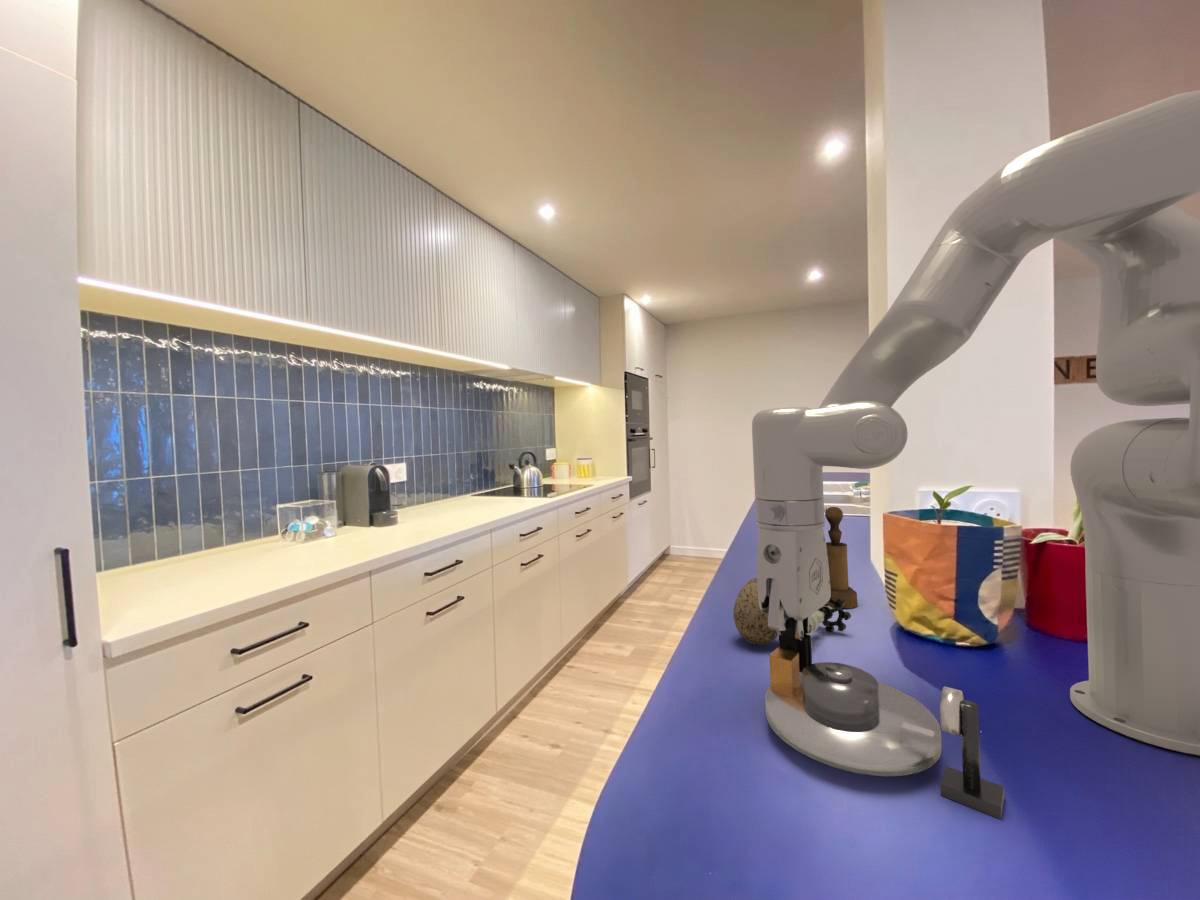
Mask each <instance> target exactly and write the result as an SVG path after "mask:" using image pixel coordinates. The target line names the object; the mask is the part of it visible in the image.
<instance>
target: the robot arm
mask: <svg viewBox="0 0 1200 900" xmlns="http://www.w3.org/2000/svg"><path fill="white" fill-rule="evenodd" d="M1198 193H1200V89H1197V90H1192V91H1189V92H1188V91H1187V92H1182V93H1177V94H1174V95H1171V96H1169V97H1165V98H1163V99H1161V100H1157V101H1154V102H1152V103H1148V104H1146V105H1143V106H1141V107H1138V108H1136V109H1133V110H1131V111H1128V112H1125V113H1123V114H1120V115H1117V116H1114V117H1112V118H1109V119H1107V120H1103V121H1101V122H1098V123H1095V124H1092V125H1090V126H1087V127H1084V128H1082V129H1079V130H1075V131H1073V132H1071V133H1068V134H1065V135H1062V136H1060V137H1058V138H1056V139H1053V140H1050V141H1048V142H1044V143H1043V144H1040V145H1038V146H1035V147H1033V148H1031V149H1029V150H1027V151H1025V152H1023V153H1022V154H1020V155H1017V156H1016V157H1014V158H1013V159H1011V160H1010V161H1008V162H1007V163H1005V164H1004V165H1003V166H1002V167H1000V168H999V170H997V171H996V172H995V173H994V174H993V175H992V176H991V177H989V178H988V179H987V180H985V182H983V183H982V184H981V185H980V186H979V187H977V188H975V190H974V191H973V192H972V193H970V194H969V195H968V196H967V197H966V198H965V199H963V201H961V203H959V205H957V207H956V208H955V209H954V210H953V211H952V213H951V214H950V215H949V216H948V218H947V219H946V221H945V222H944V224H943V225H942V227H941V228H940V230H939V232H938V233H937V235H936V236H935V237H934V239H933V241H932V242H931V244H930V245H929V247H928V249H927V250H926V251H925V253H924V255H923V256H922V258H921V260H920V261H919V262H918V264H917V266H916V267H915V268H914V271H913V272H912V274H911V275H910V276H909V278H908V280H907V282H906V283H905V284H904V286H903V288H902V289H901V290H900V292H899V294H898V295H897V297H896V298H895V300H894V302H893V303H892V304H891V306H890V307H889V309H888V310H887V311H886V313H885V314H884V315H883V317H882V318H881V319H880V321H879V322H878V323H877V324H876V326H875V327H874V328H873V330H872V331H871V332H870V334H869V336H868V337H867V339H865V341H864V342H863V344H862V345H861V347H860V348H859V349H858V351H857V352H856V353H855V355H854V356H853V357H852V358H851V359H850V361H849V362H848V363H847V365H846V366H845V368H844V369H843V371H842V372H841V373H840V375H839V376H838V377H837V378H836V381H835V382H834V383H833V385H832V387H830V389H829V391H828V392H827V394H826V395H825V397H824V398H823V400H822V402H821V403H820V405H819V407H817V408H816V407H813V408H810V407H805V406H797V407H795V406H793V407H792V406H791V407H778V408H768V409H764V410H760V411H759V412H757V413H756V414H755V415H754V416H753V417H752V420H751V436H752V455H753V457H752V458H753V481H754V482H753V483H754V484H753V485H754V499H755V500H754V501H755V502H754V504H755V525H756V526H757V527H759V528H758V538H757V552H756V553H757V555H756V557H757V558H756V578H757V590H758V602H759V607H760V609H761V611H762V612H763V613H769V614H768V628H770V629H773V630H776V632H777V634H778V648H781V649H785V650H789V651H793V652H797V653H799V672H801V673H802V671H803V669H804V668H805V667H806V666H808V665H810V664H813V656H812V655H813V654H812V651H813V649H812V650H811V640H812V635H807V634H810V633H811V631H812V614H813V613H814V612H816V611H817V610H818V609H820V608H821V607H823V606H825V604H826V603H827V602H828V601H829V600H830V597H831V588H830V576H829V565H828V555H827V547H826V542H827V541H826V536H825V530H824V528H825V527H826V523H825V522H826V521H825V499H824V478H823V477H824V476H823V467H835V468H848V469H849V468H850V469H856V470H857V469H858V470H869V469H875V468H879V467H882V466H885V465H887V464H889V463H891V462H892V461H894V460H895V459H897V458H898V457H899V455H900V454H901V453H902V451H903V450H904V448H905V447H906V443H907V441H908V434H909V433H908V427H907V423H906V422H905V420H904V418H903V416H902V415H901V414H900V413H899V412H898V411H897V410H896V409H894V408H893V407H894V405H895V403H896V402H897V401H898V400H899V399H900V397H901V396H902V395H903V394H904V393H905V391H907V390H909V389H908V388H910V387H911V386H912V385H913V384H914V383H916V382H917V381H918V380H919V379H920V378H921V377H923V376H924V375H926V374H927V373H928V372H930V371H931V370H934V368H936V367H938V366H939V365H940V364H942V363H943V362H944V361H946V360H947V359H949V358H950V357H951V356H952V355H953V354H955V353H956V352H957V351H958V350H960V348H962V346H964V345H965V344H966V343H967V342H968V340H970V338H972V336H973V334H974V333H975V331H977V328H978V326H979V325H980V323H982V321H983V319H984V318H985V316H986V314H987V313H988V311H989V310H990V308H991V307H992V305H993V304H994V302H995V301H996V299H997V298H998V296H999V295H1000V293H1001V292H1002V290H1003V288H1004V287H1005V286H1006V285H1007V283H1008V281H1009V280H1010V279H1011V277H1012V276H1013V274H1014V272H1015V271H1016V269H1017V268H1018V267H1019V265H1020V264H1021V262H1022V261H1023V259H1025V257H1026V256H1027V255H1028V254H1029V253H1030V252H1031V251H1033V250H1034V249H1036V248H1038V247H1040V246H1041V245H1043V244H1046V243H1047V242H1049V241H1051V240H1052V239H1056V240H1058V241H1059V242H1061V243H1063V244H1065V245H1067V246H1069V247H1070V248H1072V249H1073V250H1075V251H1076V252H1077V253H1079V254H1081V255H1082V256H1083V257H1084V258H1086V259H1087V260H1088V261H1089V263H1090V264H1091V265H1092V267H1093V268H1094V269H1095V271H1096V273H1097V276H1098V279H1099V284H1100V286H1099V287H1100V307H1099V321H1098V322H1099V323H1098V333H1097V334H1098V335H1097V344H1096V345H1097V347H1096V358H1095V376H1096V377H1095V378H1096V383H1097V385H1098V388H1099V390H1100V391H1101V393H1102V394H1103V395H1104V396H1105V397H1107V398H1108V399H1109V400H1112V401H1114V402H1116V403H1119V404H1123V405H1128V406H1136V407H1137V406H1139V407H1142V406H1143V407H1156V406H1172V405H1173V406H1175V405H1176V406H1177V405H1188V404H1189V417H1169V418H1166V417H1165V418H1162V417H1161V418H1147V419H1146V418H1145V419H1144V418H1143V419H1142V418H1141V419H1134V420H1133V419H1131V420H1126V421H1119V422H1115V423H1111V424H1108V425H1104V426H1102V427H1100V428H1098V429H1095V430H1093V431H1092V432H1090V433H1089V434H1087V435H1086V436H1084V438H1083V439H1081V440H1080V441H1079V442H1078V444H1077V445H1076V447H1075V448H1074V450H1073V453H1072V456H1071V459H1070V477H1071V482H1072V486H1073V489H1074V492H1075V497H1076V499H1077V503H1078V506H1079V510H1080V515H1081V521H1082V528H1083V537H1084V550H1085V551H1084V552H1085V553H1084V554H1085V558H1084V559H1085V565H1084V566H1085V569H1084V570H1085V599H1086V626H1087V659H1088V680H1083V681H1080V682H1076V683H1074V684H1073V685H1071V687H1070V689H1069V691H1070V692H1069V699H1070V700H1071V701H1070V702H1071V704H1072V705H1074V707H1075V708H1076V709H1077V710H1078V711H1080V713H1082V714H1083V715H1084V716H1086V717H1088V718H1089V719H1091V720H1092V721H1095V722H1096V723H1098V724H1100V725H1101V726H1104V727H1106V728H1108V729H1110V730H1112V731H1114V732H1117V733H1119V734H1122V735H1124V736H1126V737H1128V738H1131V739H1135V740H1137V741H1140V742H1143V743H1146V744H1150V745H1153V746H1155V747H1156V746H1157V747H1159V748H1162V749H1167V750H1171V751H1176V752H1179V753H1183V754H1187V755H1188V754H1189V755H1195V756H1199V757H1200V220H1199V219H1198V218H1196V217H1194V216H1192V215H1191V214H1188V213H1186V212H1185V211H1183V210H1181V209H1179V208H1178V207H1176V206H1174V205H1175V204H1177V203H1180V202H1181V201H1183V200H1185V199H1187V198H1190V197H1191V196H1193V195H1196V194H1198ZM806 633H807V634H806Z"/></svg>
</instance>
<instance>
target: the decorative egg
mask: <svg viewBox="0 0 1200 900" xmlns="http://www.w3.org/2000/svg"><path fill="white" fill-rule="evenodd" d="M732 613H733V622H734V624H735V628H736V630H737V632H738V633H739V635H740V636H741V637H742V638H743V639H744V641H746V642H749V643H750V644H752V645H756V646H765V645H768V644H770V643H772V642H773V641H774V640H775V639H776V638H777V637H779V635H778V634H777V632H776V630H773V629H770V628H768V614H769V613H763V612H762V611H761V609H760V607H759V602H758V590H757V577H756V578H755V577H754V578H752V579H750V580H748V581H747V582H746V583H745V584H744V586H743V587H741V589H740V591H739V592H738V594H737V596H736V598H735V601H734V605H733V612H732Z"/></svg>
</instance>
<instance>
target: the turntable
mask: <svg viewBox="0 0 1200 900" xmlns="http://www.w3.org/2000/svg"><path fill="white" fill-rule="evenodd" d="M768 658H769V677H770V680H769V681H770V684H769V686H768V687H767V688H766V691H765V695H764V696H765V697H764V700H765V701H764V703H765V715H766V716H765V717H766V719H767V720H766V721H767V722H768V724H769V726H770V727H771V729H772V730H773V732H775V734H776V736H778V737H779V738H780V739H781V740H782V741H783V742H784V743H786V744H787V745H789V746H790V747H791V748H792V749H794V750H796V751H797V752H799V753H800V754H802V755H804V756H806V757H809V758H811V759H813V760H814V761H817V762H820V763H822V764H824V765H827V766H829V767H832V768H836V769H839V770H843V771H847V772H850V773H854V774H855V773H856V774H861V775H866V776H867V775H868V776H875V777H876V776H877V777H878V776H879V777H901V776H908V775H913V774H916V773H917V774H918V773H920V772H923V771H925V770H927V769H929V768H931V767H932V766H933V765H935V764H936V763H937V762H938V760H939V759H940V756H941V754H942V729H941V724H940V722H939V721H938V718H936V717H935V715H934V714H933V713H932V711H930V710H929V708H927V707H926V706H925V705H924V704H923V703H921V702H920V701H919V700H917V699H916V698H915V697H913V696H912V695H909V694H907V693H906V692H904V691H902V690H900V689H898V688H895V687H893V686H891V685H889V684H886V683H883V682H880V681H878V680H877V682H878V685H879V711H880V723H879V725H878V726H877V727H876V728H874V729H873V730H870V731H866V732H845V731H840V730H836V729H832V728H829V727H827V726H824V725H822V724H820V723H818V722H816V721H815V720H813V719H812V718H811V717H810V716H809V715H808V714H807V713H806V712H805V710H804V706H803V682H802V673H801V672H799V653H797V652H793V651H789V650H785V649H781V648H779V647H776V648H775V650H773V651H772V652H771V653H770V654H769V657H768Z"/></svg>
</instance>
